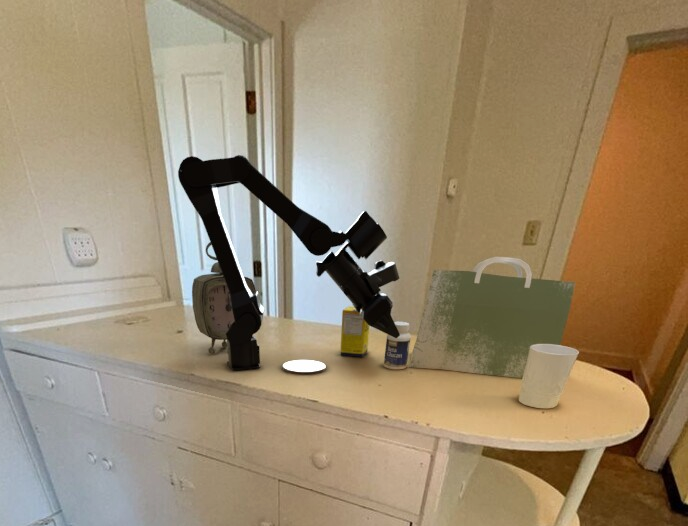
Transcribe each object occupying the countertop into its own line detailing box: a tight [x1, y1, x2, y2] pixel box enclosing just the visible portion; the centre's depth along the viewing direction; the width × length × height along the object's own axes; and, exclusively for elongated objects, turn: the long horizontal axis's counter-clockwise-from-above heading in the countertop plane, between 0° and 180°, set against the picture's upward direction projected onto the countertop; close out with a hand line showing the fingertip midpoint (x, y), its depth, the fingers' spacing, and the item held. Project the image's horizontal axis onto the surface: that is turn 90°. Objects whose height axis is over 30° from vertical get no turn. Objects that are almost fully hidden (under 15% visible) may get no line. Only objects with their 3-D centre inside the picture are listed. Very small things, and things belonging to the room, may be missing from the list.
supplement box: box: [340, 306, 371, 358], centre depth 108 cm, size 6×6×11 cm
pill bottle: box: [383, 321, 412, 370], centre depth 98 cm, size 5×5×10 cm
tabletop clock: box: [191, 241, 257, 355], centre depth 106 cm, size 14×9×25 cm, turn 120°
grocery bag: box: [409, 256, 576, 379], centre depth 96 cm, size 32×14×23 cm, turn 73°
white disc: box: [282, 359, 327, 376], centre depth 99 cm, size 10×10×1 cm
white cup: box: [518, 344, 580, 409], centre depth 79 cm, size 8×8×10 cm
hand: (393, 332), depth 97 cm, fingers open, 9 cm apart
